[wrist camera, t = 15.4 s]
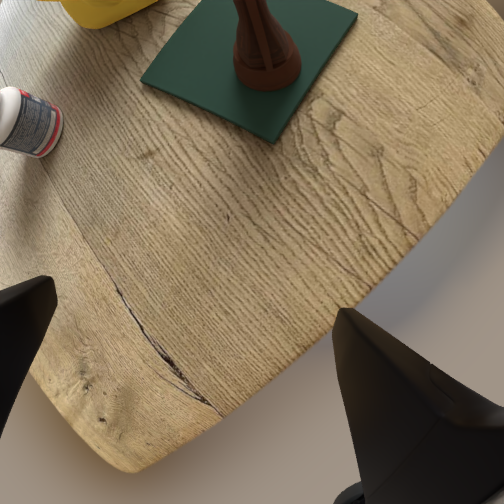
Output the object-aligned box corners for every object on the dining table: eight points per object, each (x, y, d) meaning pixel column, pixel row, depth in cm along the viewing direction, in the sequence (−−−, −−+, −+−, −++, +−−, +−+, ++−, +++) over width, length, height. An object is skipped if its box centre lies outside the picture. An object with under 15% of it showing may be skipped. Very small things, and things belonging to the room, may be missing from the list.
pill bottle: (71, 103, 23) (2, 69, 14) (57, 158, 24) (-19, 137, 15) (36, 108, 24) (-28, 83, 15) (24, 159, 24) (-46, 143, 16)
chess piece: (292, 34, 19) (276, -66, 9) (311, 91, 19) (307, -8, 9) (230, 49, 20) (184, -43, 10) (244, 105, 20) (195, 18, 10)
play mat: (357, 17, 19) (358, 13, 18) (273, 145, 20) (273, 142, 20) (229, -25, 20) (228, -29, 20) (142, 83, 22) (139, 80, 21)
